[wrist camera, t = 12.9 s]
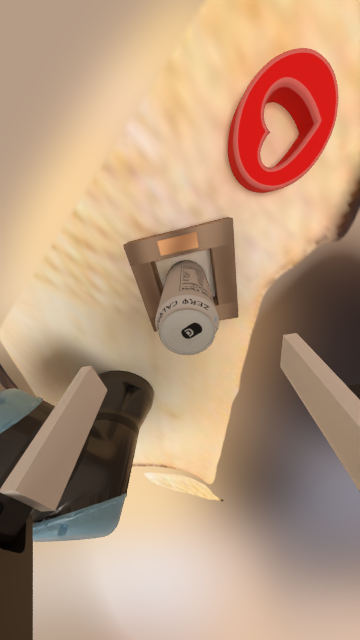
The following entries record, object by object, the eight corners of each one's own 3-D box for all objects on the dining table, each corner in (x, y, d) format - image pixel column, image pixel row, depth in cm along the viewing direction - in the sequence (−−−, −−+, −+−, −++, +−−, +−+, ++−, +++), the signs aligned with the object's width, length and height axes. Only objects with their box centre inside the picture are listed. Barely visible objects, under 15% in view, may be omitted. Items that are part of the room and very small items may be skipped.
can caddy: (156, 322, 32) (154, 332, 30) (129, 241, 25) (122, 245, 22) (233, 308, 30) (238, 318, 28) (227, 217, 23) (233, 218, 21)
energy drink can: (159, 275, 28) (137, 328, 15) (190, 250, 26) (195, 288, 13) (182, 302, 30) (181, 368, 17) (212, 281, 28) (235, 339, 15)
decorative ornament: (324, 159, 20) (345, 151, 18) (243, 209, 23) (251, 208, 20) (310, 39, 16) (335, 4, 13) (213, 117, 19) (218, 101, 16)
